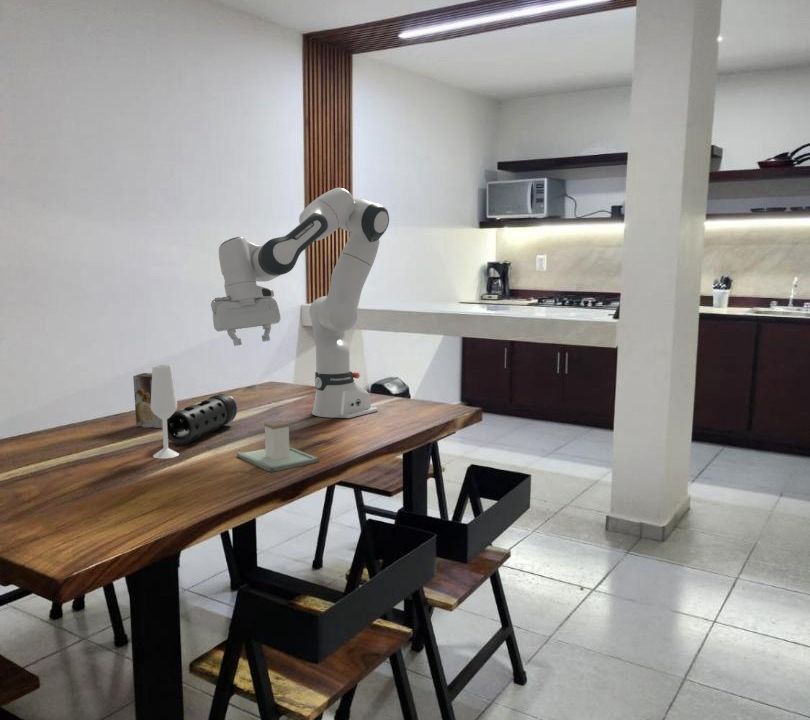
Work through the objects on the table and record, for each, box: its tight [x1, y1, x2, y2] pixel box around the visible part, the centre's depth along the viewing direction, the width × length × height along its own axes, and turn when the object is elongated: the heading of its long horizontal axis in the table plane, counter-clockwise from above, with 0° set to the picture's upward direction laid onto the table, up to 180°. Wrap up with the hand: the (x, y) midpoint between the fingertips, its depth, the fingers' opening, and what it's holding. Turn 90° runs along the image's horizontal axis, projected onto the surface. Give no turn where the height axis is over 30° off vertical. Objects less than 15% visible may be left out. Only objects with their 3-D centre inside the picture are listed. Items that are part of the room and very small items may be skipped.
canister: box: [263, 419, 290, 460], centre depth 189 cm, size 5×5×9 cm
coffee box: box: [133, 372, 163, 429], centre depth 225 cm, size 9×6×16 cm
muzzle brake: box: [167, 393, 239, 447], centre depth 214 cm, size 10×28×10 cm, turn 166°
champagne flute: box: [151, 364, 180, 460], centre depth 191 cm, size 7×7×24 cm
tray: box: [236, 446, 320, 473], centre depth 189 cm, size 14×18×1 cm
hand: (252, 343), depth 204 cm, fingers open, 8 cm apart
